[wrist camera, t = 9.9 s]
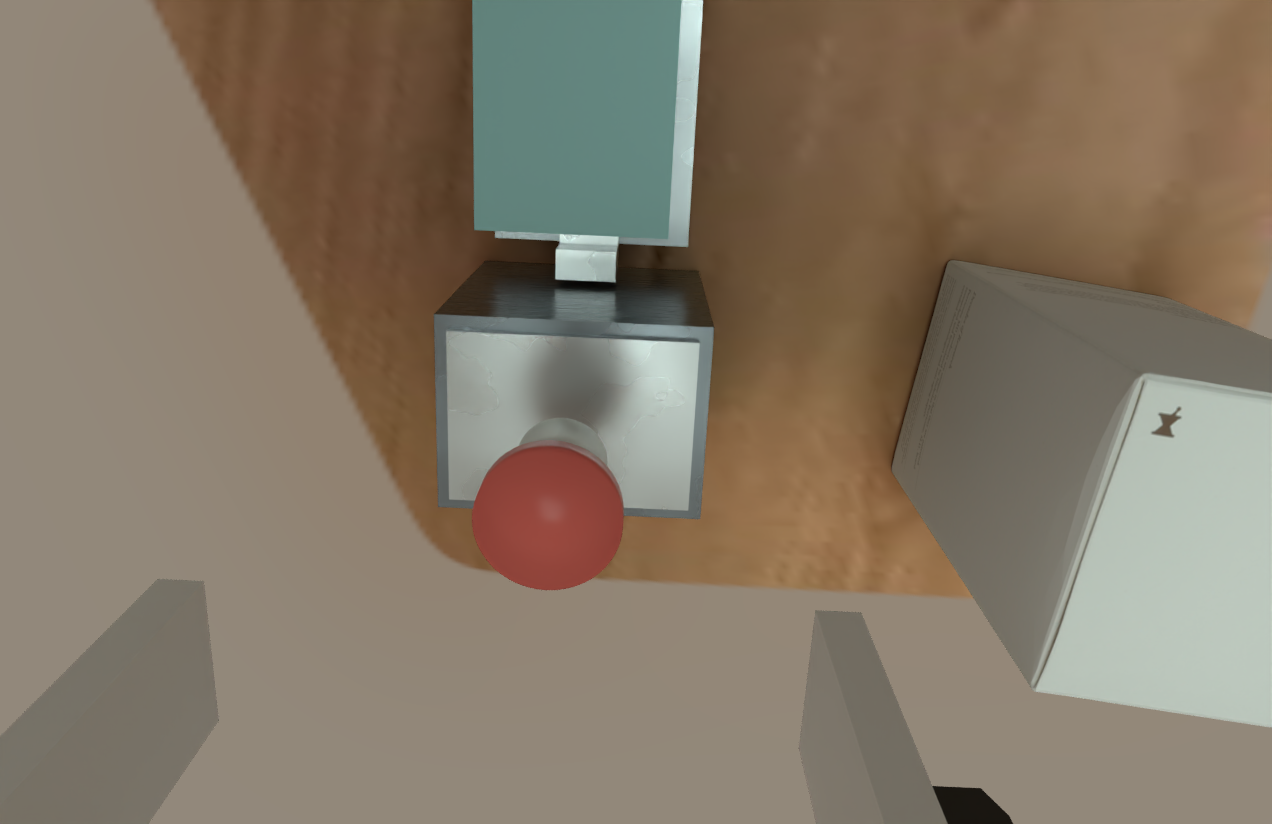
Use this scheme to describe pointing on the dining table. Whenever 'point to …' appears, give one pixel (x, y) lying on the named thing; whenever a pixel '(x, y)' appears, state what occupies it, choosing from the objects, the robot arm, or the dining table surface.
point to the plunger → (550, 508)
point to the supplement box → (1101, 486)
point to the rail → (601, 253)
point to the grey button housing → (577, 377)
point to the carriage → (574, 115)
